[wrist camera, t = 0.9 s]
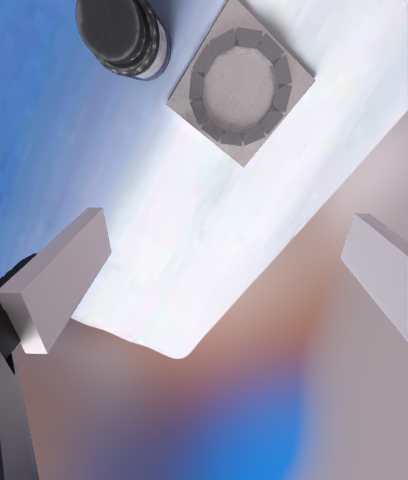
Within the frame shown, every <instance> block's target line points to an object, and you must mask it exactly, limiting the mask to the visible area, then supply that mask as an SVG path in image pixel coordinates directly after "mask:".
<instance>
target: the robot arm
mask: <svg viewBox="0 0 408 480" xmlns="http://www.w3.org/2000/svg"><path fill="white" fill-rule="evenodd" d="M110 254H111V248H110V243H109V237H108V232H107V227H106V222H105V217H104V211H103V208H87V209H86V210H85V211H84V212H83V213H82V214H81V215H80V216H79V217H77V218H76V219H75V220H74V221H73V222H72V223H71V224H70V225H69V226H68V227H66V228H65V229H64V230H63V231H62V232H61V233H60V234H59V235H58V236H57V237H56V238H54V239H53V240H52V241H51V242H50V243H49V244H48V245H47V246H46V247H45V248H43V249H42V250H41V251H40V252H39V253H38V254H35V253H34V254H32V255H30V256H29V257H27V258H25V259H23V260H21V261H20V262H19V263H18V264H17V265H16V266H14V267H13V269H12V270H10V271H9V272H7V273H6V274H5V276H3V277H2V278H1V279H0V480H39V476H38V472H37V466H36V461H35V455H34V450H33V446H32V440H31V434H30V429H29V424H28V419H27V414H26V408H25V403H24V398H23V393H22V388H21V382H20V377H19V372H18V367H17V362H16V357H15V356H14V354H13V352H12V351H13V350H14V349H15V348H16V346H17V345H18V344H19V342H20V343H21V345H22V347H23V349H24V351H25V353H36V354H48V352H49V351H50V349H51V347H52V346H53V344H54V343H55V341H56V339H57V338H58V336H59V335H60V333H61V332H62V330H63V328H64V327H65V325H66V324H67V322H68V320H69V319H70V317H71V316H72V314H73V313H74V311H75V309H76V308H77V306H78V305H79V303H80V301H81V300H82V298H83V297H84V295H85V294H86V292H87V290H88V289H89V287H90V286H91V284H92V282H93V281H94V279H95V278H96V276H97V275H98V273H99V271H100V270H101V268H102V267H103V265H104V263H105V262H106V260H107V259H108V257H109V256H110ZM340 259H341V260H342V261H343V262H344V264H345V265H346V266H347V267H348V269H349V270H350V271H351V272H352V274H353V275H354V276H355V277H356V279H357V280H358V281H359V282H360V283H361V285H362V286H363V287H364V288H365V290H366V291H367V292H368V293H369V295H370V296H371V297H372V298H373V300H374V301H375V302H376V303H377V304H378V306H379V307H380V308H381V309H382V311H383V312H384V313H385V314H386V316H387V317H388V318H389V319H390V321H391V322H392V323H393V324H394V325H395V327H396V328H397V329H398V330H399V332H400V333H401V334H402V335H403V337H404V338H405V339H406V340H407V342H408V242H407V241H406V240H404V239H403V238H402V237H400V236H399V235H398V234H396V233H395V232H394V231H392V230H391V229H389V228H388V227H387V226H385V225H384V224H383V223H381V222H380V221H378V220H377V219H376V218H374V217H373V216H372V215H370V214H355V215H354V217H353V220H352V223H351V226H350V229H349V232H348V235H347V238H346V242H345V244H344V248H343V250H342V253H341V256H340Z"/></svg>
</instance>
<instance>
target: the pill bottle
mask: <svg viewBox="0 0 408 480" xmlns="http://www.w3.org/2000/svg"><path fill="white" fill-rule="evenodd" d="M76 22H77V26H78V30H79V33H80V35H81V37H82V39H83V41H84V43H85V44H86V46H87V47H88V48H89V49H90V50H91V52H92V53H94V55H95V56H96V58H97V59H98V61H99V62H100V63H101V64H102V65H103V66H104V67H106V68H107V69H108V70H110V71H112V72H113V73H116V74H118V75H122V76H126V77H130V78H134V79H138V80H144V81H149V80H153V79H155V78H157V77H158V76H160V75H161V74H162V73H163V72H164V71H165V69H166V67H167V65H168V63H169V59H170V53H171V46H170V40H169V37H168V34H167V32H166V29H165V27H164V26H163V24H162V22H161V21H160V20H159V18H158V17H157V15H156V14H155V12H154V11H153V10H152V8H151V6H150V5H149V4H148V2H147V1H146V0H77V5H76Z"/></svg>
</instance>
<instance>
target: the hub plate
mask: <svg viewBox="0 0 408 480" xmlns="http://www.w3.org/2000/svg"><path fill="white" fill-rule="evenodd" d="M314 82H315V79H314V78H313V77H312V76H311V75H310V74H309V73H308V72H307V71H306V70H305V69H304V68H303V67H302V66H301V65H300V64H299V63H298V62H297V60H296V59H295V58H294V57H293V56H292V55H291V54H290V53H289V52H288V51H287V50H286V49H285V48H284V47H283V46H282V45H281V44H280V43H279V42H278V41H277V40H276V39H275V38H274V37H273V36H272V35H271V34H270V33H269V31H268V30H267V29H266V28H265V27H264V26H263V25H262V24H261V23H260V22H259V21H258V20H257V19H256V18H255V17H254V16H253V15H252V14H251V13H250V12H249V11H248V10H247V9H246V8H245V7H244V6H243V5H242V4H241V2H240V1H239V0H228V2H227V4H226V5H225V7H224V9H223V10H222V12H221V14H220V15H219V17H218V19H217V20H216V22H215V24H214V25H213V27H212V29H211V30H210V32H209V34H208V35H207V37H206V39H205V41H204V42H203V44H202V46H201V47H200V49H199V51H198V52H197V54H196V56H195V57H194V59H193V61H192V62H191V64H190V66H189V67H188V69H187V71H186V72H185V74H184V76H183V77H182V79H181V81H180V82H179V84H178V86H177V87H176V89H175V91H174V92H173V94H172V96H171V97H170V99H169V101H168V102H167V104H166V105H168V106H169V107H170V108H171V109H172V110H174V111H175V112H176V113H177V114H179V115H180V116H181V117H182V118H183V119H185V120H186V121H187V122H188V123H190V124H191V125H192V126H193V127H195V128H196V129H197V130H198V131H199V132H201V133H202V134H203V135H204V136H206V137H207V138H208V139H209V140H210V141H212V142H213V143H214V144H215V145H217V146H218V147H219V148H220V149H222V150H223V151H224V152H225V153H226V154H228V155H229V156H230V157H231V158H233V159H234V160H235V161H236V162H238V163H239V164H240V165H241V166H242V167H245V165H246V164H247V163H248V162H249V160H250V159H251V158H252V157H253V156H254V154H255V153H256V152H257V151H258V150H259V148H260V147H261V146H262V145H263V143H264V142H265V141H266V140H267V139H268V137H269V136H270V135H271V134H272V133H273V131H274V130H275V129H276V128H277V127H278V125H279V124H280V123H281V122H282V120H283V119H284V118H285V117H286V116H287V114H288V113H289V112H290V111H291V110H292V108H293V107H294V106H295V105H296V104H297V102H298V101H299V100H300V99H301V97H302V96H303V95H304V94H305V93H306V91H307V90H308V89H309V88H310V87H311V85H312V84H313V83H314Z"/></svg>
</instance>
